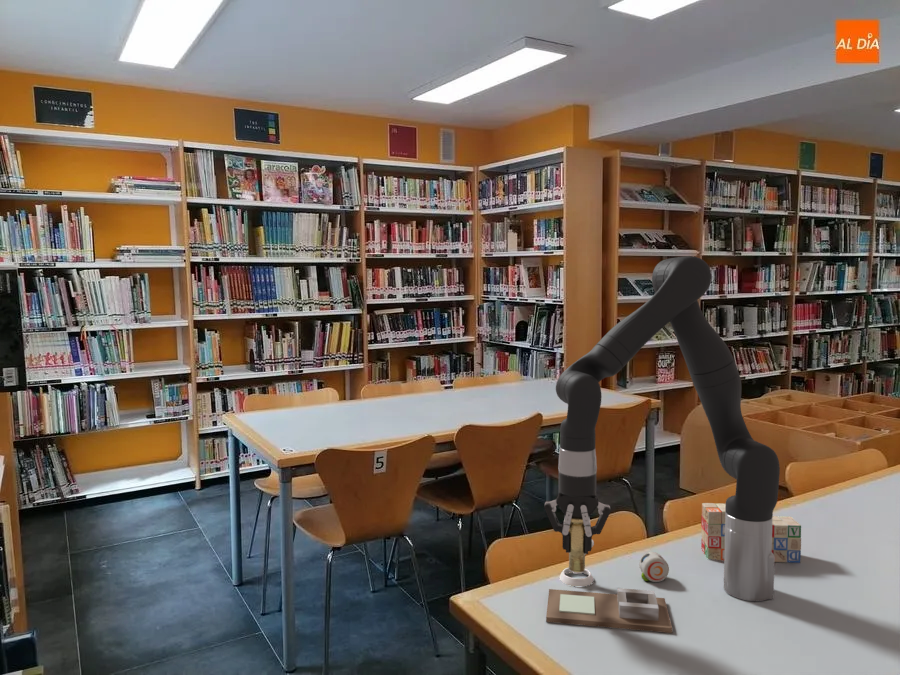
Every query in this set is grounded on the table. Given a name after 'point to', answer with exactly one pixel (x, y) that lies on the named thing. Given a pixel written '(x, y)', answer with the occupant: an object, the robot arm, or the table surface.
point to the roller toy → (653, 567)
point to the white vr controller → (575, 581)
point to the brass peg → (577, 545)
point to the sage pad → (577, 604)
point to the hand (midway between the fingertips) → (576, 551)
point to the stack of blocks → (783, 535)
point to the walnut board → (615, 610)
